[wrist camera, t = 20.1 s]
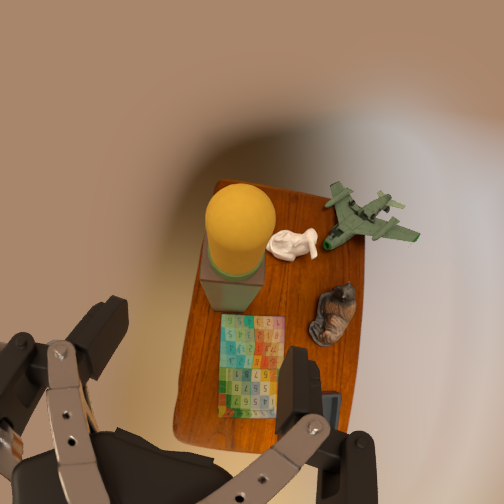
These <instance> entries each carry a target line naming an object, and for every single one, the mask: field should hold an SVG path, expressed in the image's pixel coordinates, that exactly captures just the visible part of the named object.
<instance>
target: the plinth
mask: <svg viewBox="0 0 504 504" xmlns="http://www.w3.org/2000/svg"><path fill="white" fill-rule="evenodd" d="M265 259H266V249H265V253H264V258H263V261H262V263H261V265H260V267H259V269H258V271H257V272H256V273H255V274H254V275H253V276H252V277H250V278H249V279H247V280H244V281H240V282H231V281H227V280H225V279H222V278H221V277H219V276H218V275H217V274H216V273H215V272H214V271H213V269H212V267H211V265H210V262H209V257H208V236H207V230H206V229H205V236H204V244H203V252H202V260H201V268H200V277H199V279H200V282H201V284H202V287H203V289H204V291H205V294H206V296H207V298H208V300H209V303H210V305H211V307H212V309H213V311H222V312H234V313H244V311H245V310H246V309H247V307H248V306H249V305H250V303H251V302H252V301H253V299H254V298H255V296H256V295H257V294H258V292H259V291H260V290H261V288H262V287H263V285H264V277H265Z"/></svg>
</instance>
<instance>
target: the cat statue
mask: <svg viewBox="0 0 504 504" xmlns="http://www.w3.org/2000/svg"><path fill="white" fill-rule="evenodd" d="M332 289H333V291H332V292H327V293H324V294H322V295H321V296H320V298H319V301H318V309H317V316H316V319H315V321H313V322H312V323H311V324H310V328H309V333H310V335H311V337H312V338H313V340H314V341H315V342H316V343H317V344H318V345H321V346H331V345H332V344H334V343H336V342H337V341H338V340H339V339H340V338H341V336H342V335H343V332H344V330H345V329H346V327H347V326H348V324H349V322H350V320H351V319H352V317H353V316H354V313H355V310H356V300H355V299H354V297H355V289H354V287H353V286H352V285H351V284H350V281H348V283H347V284H346V285H343V286H336V287H334V288H332Z"/></svg>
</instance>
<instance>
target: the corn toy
mask: <svg viewBox="0 0 504 504" xmlns="http://www.w3.org/2000/svg"><path fill="white" fill-rule="evenodd" d="M205 222H206V230H207V236H208V257H209V262H210V265H211V267H212V269H213V271H214V272H215V273H216V274H217V275H218V276H219V277H221V278H222V279H225V280H227V281H231V282H240V281H244V280H247V279H249V278H250V277H252V276H253V275H254V274H255V273H256V272H257V271H258V269H259V267H260V265H261V263H262V261H263V258H264V253H265V249H266V247H267V244H268V242H269V240H270V238H271V235H272V233H273V231H274V227H275V222H276V217H275V210H274V207H273V204H272V202H271V200H270V199H269V197H268V196H267V195H266V194H265V193H264V192H263V191H261V190H260V189H258V188H256V187H254V186H252V185H248V184H233V185H229V186H227V187H225V188H223V189H221V190H220V191H218V192H217V193H216V194H215V195H214V196H213V198H212V199H211V200H210V202H209V204H208V207H207V210H206V216H205Z"/></svg>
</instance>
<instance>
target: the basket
mask: <svg viewBox="0 0 504 504" xmlns="http://www.w3.org/2000/svg"><path fill="white" fill-rule="evenodd" d="M322 404H323V415H324V418H325V419H326V420H327V421H328V423H329V425H330V426H331V427H332V428H334V429H336V430H338V422H339V414H340V404H341V393H338V392H336V391H323V392H322ZM281 438H282V435H278V441H279V440H280V439H281ZM278 441H277V442H278Z"/></svg>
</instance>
